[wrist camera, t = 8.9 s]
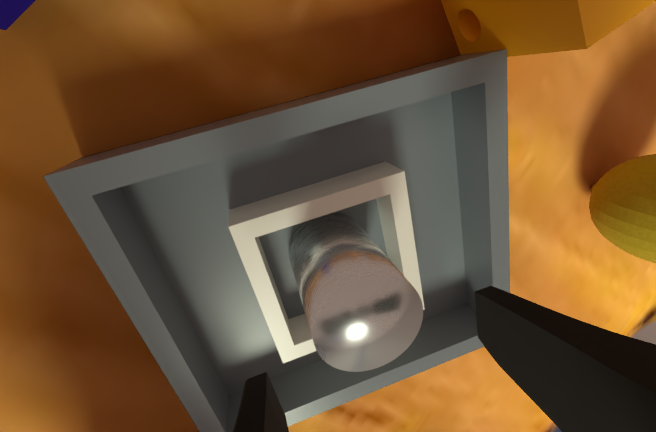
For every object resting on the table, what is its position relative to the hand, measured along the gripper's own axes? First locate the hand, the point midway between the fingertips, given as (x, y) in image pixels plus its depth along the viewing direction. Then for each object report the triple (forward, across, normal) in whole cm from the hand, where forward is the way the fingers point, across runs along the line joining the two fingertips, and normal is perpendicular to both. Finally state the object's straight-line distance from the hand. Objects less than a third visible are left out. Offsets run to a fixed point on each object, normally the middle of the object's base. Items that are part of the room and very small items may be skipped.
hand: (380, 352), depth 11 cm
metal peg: (+7, 0, 0) cm, 7 cm away
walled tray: (+8, 0, 0) cm, 8 cm away
